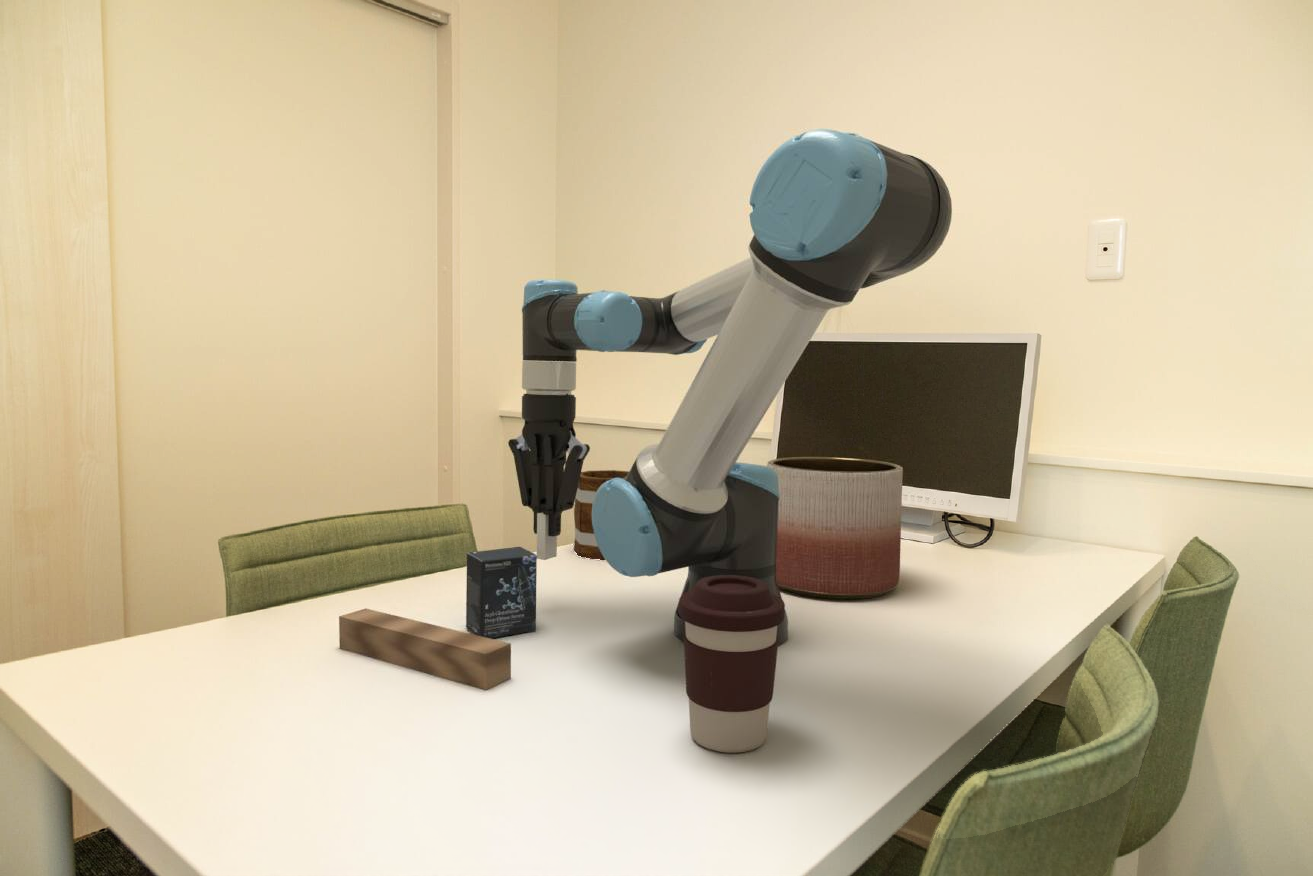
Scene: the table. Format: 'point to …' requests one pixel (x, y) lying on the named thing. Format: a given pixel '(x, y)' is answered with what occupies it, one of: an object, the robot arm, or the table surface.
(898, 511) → the planter
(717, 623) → the coffee cup
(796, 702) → the table surface
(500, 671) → the brown wooden bar
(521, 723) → the table surface
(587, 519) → the mug
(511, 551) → the box
